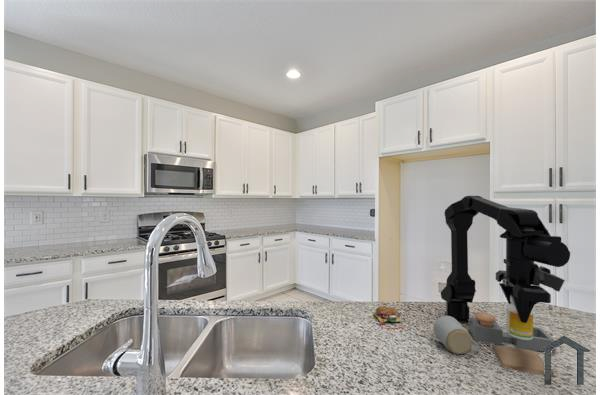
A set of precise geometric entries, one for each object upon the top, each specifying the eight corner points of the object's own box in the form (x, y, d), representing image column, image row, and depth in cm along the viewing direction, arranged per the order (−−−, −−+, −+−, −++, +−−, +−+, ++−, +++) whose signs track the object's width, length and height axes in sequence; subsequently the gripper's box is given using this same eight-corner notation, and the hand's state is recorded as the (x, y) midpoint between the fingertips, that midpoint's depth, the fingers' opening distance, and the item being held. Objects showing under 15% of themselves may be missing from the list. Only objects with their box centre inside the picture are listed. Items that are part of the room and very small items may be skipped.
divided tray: (475, 341, 82) (475, 327, 82) (469, 328, 90) (469, 316, 90) (555, 354, 75) (555, 339, 75) (541, 339, 83) (541, 326, 83)
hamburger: (360, 313, 103) (360, 297, 103) (396, 313, 104) (396, 296, 104) (373, 331, 89) (373, 312, 89) (415, 330, 90) (415, 311, 90)
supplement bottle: (538, 341, 69) (538, 302, 69) (513, 339, 70) (513, 300, 70) (525, 331, 74) (525, 295, 74) (502, 329, 75) (502, 293, 75)
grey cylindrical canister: (446, 355, 74) (447, 327, 74) (432, 340, 82) (433, 314, 82) (487, 357, 74) (487, 328, 74) (469, 342, 82) (469, 315, 82)
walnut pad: (503, 367, 69) (503, 363, 69) (491, 347, 78) (491, 344, 78) (553, 376, 65) (553, 372, 65) (535, 355, 75) (535, 351, 75)
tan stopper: (477, 336, 83) (477, 317, 84) (473, 328, 88) (473, 311, 88) (497, 339, 82) (497, 320, 82) (492, 331, 86) (492, 313, 86)
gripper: (580, 269, 61) (580, 340, 61) (542, 253, 78) (542, 309, 78) (518, 264, 65) (518, 331, 65) (495, 250, 82) (494, 303, 82)
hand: (519, 317), depth 72 cm, fingers closed on supplement bottle, 5 cm apart
